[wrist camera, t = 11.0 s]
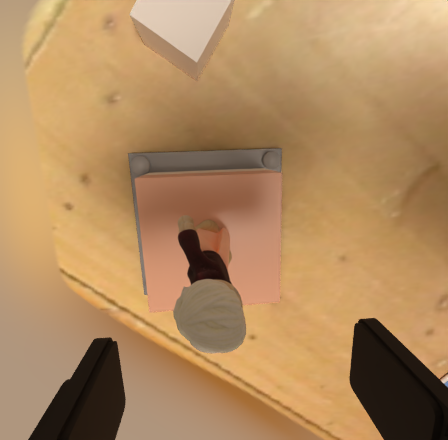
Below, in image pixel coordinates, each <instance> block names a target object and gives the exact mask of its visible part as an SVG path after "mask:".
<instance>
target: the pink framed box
mask: <svg viewBox="0 0 448 440" xmlns="http://www.w3.org/2000/svg"><path fill="white" fill-rule="evenodd" d="M128 156H129V165H130V173H131V182H132V191H133V199H134V208H135V217H136V225H137V234H138V243H139V252H140V260H141V269H142V278H143V286H144V295H148V303H149V312H162V311H174V308H175V304H176V301H177V299H178V298H179V297H180V296H181V293H182V290H183V287H184V286H185V287H189V286H191V283H190V280H189V278H188V276H187V272H188V268H189V263H188V260H187V258H186V255H185V253H184V251H183V250H182V248H181V246H180V244H179V241H178V234H179V227H178V220H179V218H180V217H181V216H184V215H188V216H190V217H192V219H193V220H194V227H196V226H197V225H199V224H200V223H202V222H203V221H205V220H212V221H214V222H216V223H217V225H218V226H219V229H220V230H221V229H222V228H226V229H227V230H228V232H229V234H230V251H231V255H232V259H231V262H230V263H229V264H228V274H229V278H230V281H231V283H232V285H233V286H234V287H235V288H236V289H237V291H238V292H239V294H240V296H241V299H242V305H252V304H265V303H278V302H280V269H281V214H282V172H281V158H282V148H277V149H247V150H218V151H188V152H158V153H128Z"/></svg>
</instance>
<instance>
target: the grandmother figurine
mask: <svg viewBox="0 0 448 440" xmlns="http://www.w3.org/2000/svg"><path fill="white" fill-rule="evenodd" d="M178 227H179V234H178V241H179V244H180V246H181V248H182V250H183V251H184V253H185V255H186V258H187V260H188V263H189V268H188V272H187V276H188V278H189V280H190V283H191V286H189V287H185V286H184V287H183V290H182V293H181V296H180V297H179V298H178V299H177V301H176V304H175V308H174V311H173V314H174V318H175V320H176V323H177V328H178V330H179V331H180V333H181V334H182V335H183V336H184V337H185V338H186V339H187V340H189V341H190V343H191V344H192V346H193V347H195V348H196V349H197V350H199V351H202V352H206V353H226V352H231V351H233V350H235V349H236V348H238V347H239V346H240V345H241V344H242V343H243V340H244V338H245V335H246V324H245V317H244V313H243V309H242V299H241V296H240V294H239V292H238V291H237V289H236V288H235V287H234V286H233V285H232V283H231V281H230V278H229V274H228V264H229V263H230V262H231V259H232V255H231V251H230V234H229V232H228V230H227V229H226V228H222V229H221V230H220V229H219V226H218V225H217V223H216V222H214V221H212V220H205V221H203V222H202V223H200V224H199V225H197V226H196V227H194V220H193V219H192V217H190V216H188V215H184V216H181V217H180V218H179V220H178Z"/></svg>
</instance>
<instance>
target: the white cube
mask: <svg viewBox="0 0 448 440" xmlns="http://www.w3.org/2000/svg"><path fill="white" fill-rule="evenodd" d="M233 4H234V0H136V2H135V4H134V6H133V8H132V10H131V12H130V14H129V15H130V17H131V19H132V21H133V23H134V25H135V27H136V29H137V31H138V33H139V35H140V37H141V39H142V41H143V43H144V45H146V46H147V47H149V48H150V49H152V50H153V51H155V52H156V53H157V54H159V55H160V56H162V57H163V58H165V59H166V60H168V61H169V62H170V63H172V64H173V65H175V66H176V67H178V68H179V69H180V70H182V71H183V72H185V73H186V74H188V75H189V76H191V77H192V78H193V79H195V80H196V81H198V79H199V77H200V76H201V74H202V72H203V70H204V68H205V67H206V65H207V63H208V61H209V60H210V58H211V56H212V54H213V52H214V51H215V49H216V47H217V45H218V44H219V42H220V40H221V38H222V36H223V35H224V33H225V31H226V29H227V27H228V26H229V21H230V17H231V13H232V8H233Z"/></svg>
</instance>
